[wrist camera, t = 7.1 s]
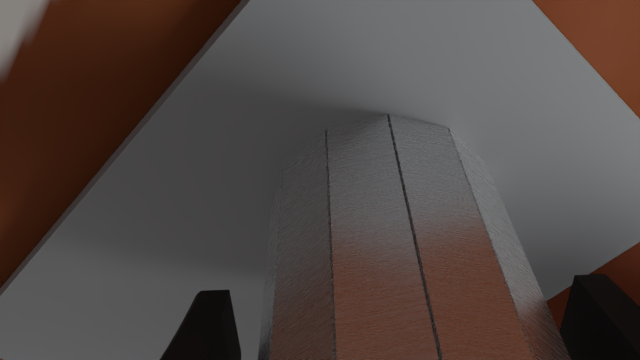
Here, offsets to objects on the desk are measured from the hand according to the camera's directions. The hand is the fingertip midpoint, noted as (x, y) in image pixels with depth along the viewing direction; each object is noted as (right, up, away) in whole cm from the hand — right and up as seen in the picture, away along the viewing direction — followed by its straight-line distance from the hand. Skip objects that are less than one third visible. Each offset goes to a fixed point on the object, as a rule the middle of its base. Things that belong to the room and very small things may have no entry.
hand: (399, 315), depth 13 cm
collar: (0, +2, +3) cm, 4 cm away
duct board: (-2, +1, +5) cm, 5 cm away
